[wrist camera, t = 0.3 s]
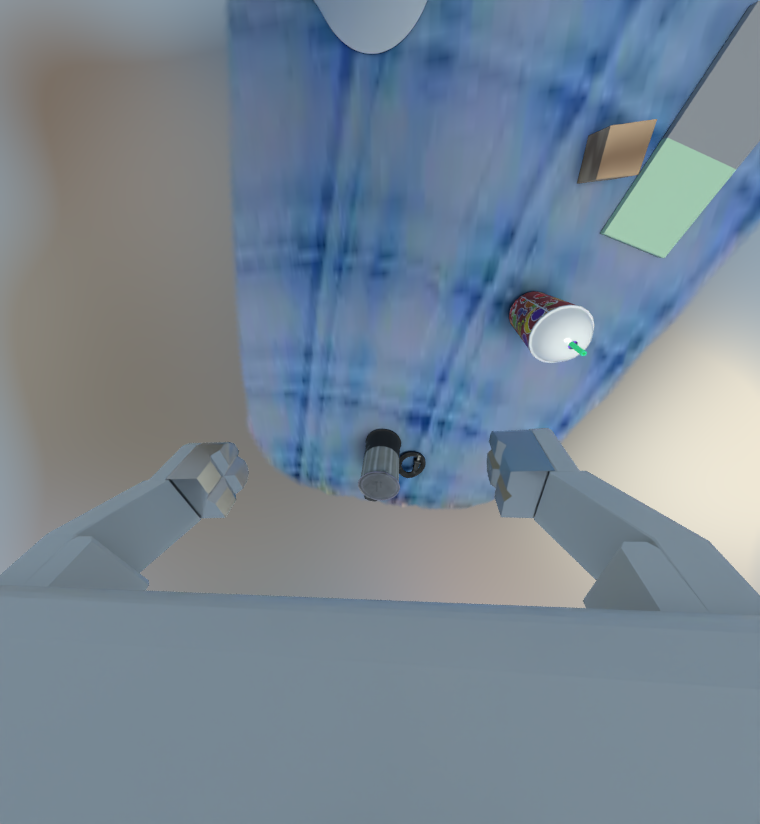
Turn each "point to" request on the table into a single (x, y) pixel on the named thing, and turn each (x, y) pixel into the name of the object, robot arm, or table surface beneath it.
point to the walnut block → (616, 151)
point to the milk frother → (385, 466)
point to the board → (696, 148)
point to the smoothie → (551, 326)
